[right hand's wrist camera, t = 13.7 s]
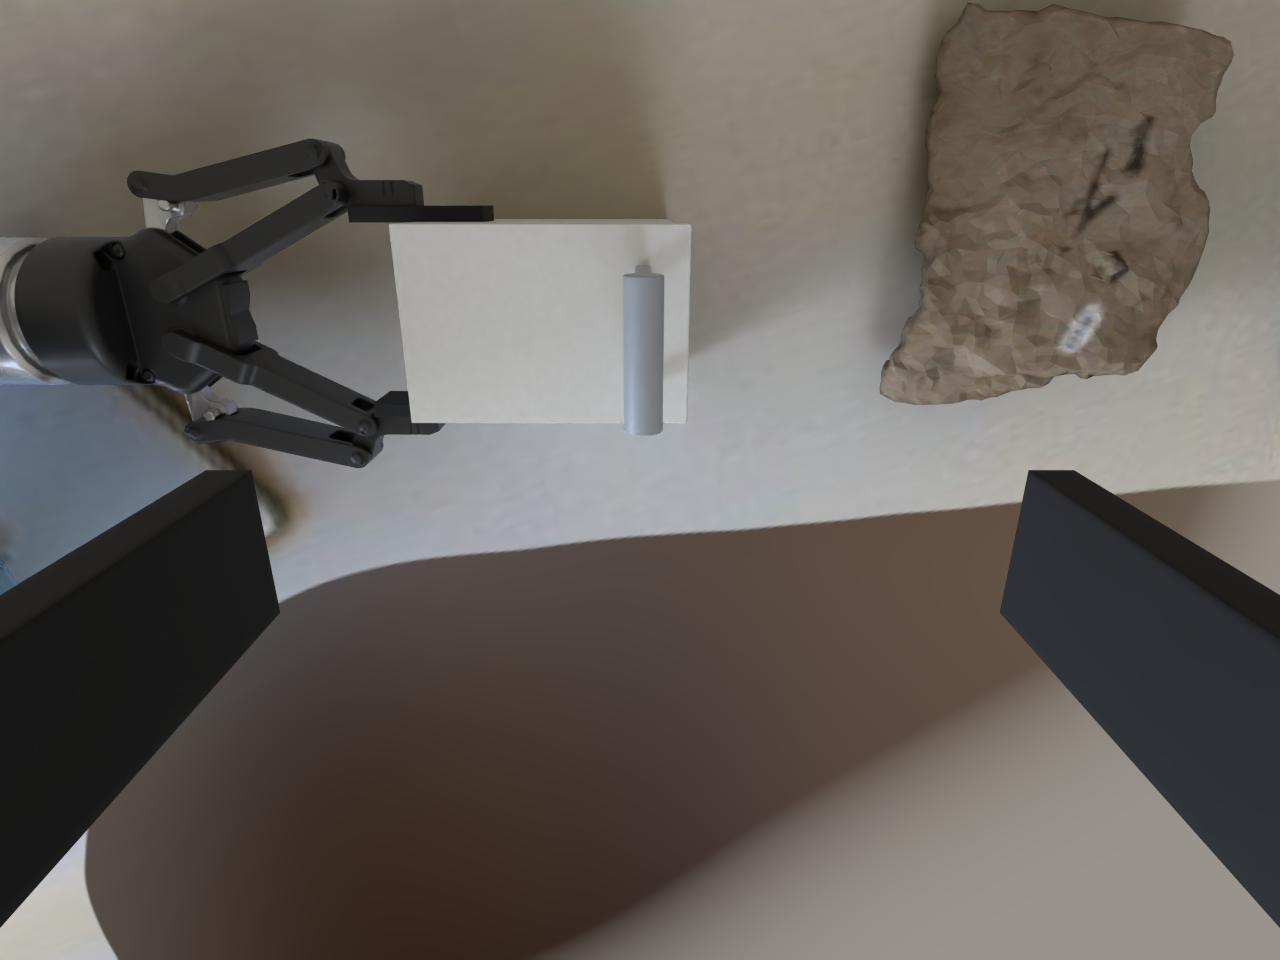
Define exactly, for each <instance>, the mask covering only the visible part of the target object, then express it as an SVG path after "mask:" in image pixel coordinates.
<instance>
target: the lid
mask: <svg viewBox="0 0 1280 960" xmlns="http://www.w3.org/2000/svg"><path fill="white" fill-rule="evenodd" d="M389 232H390V241H391V249H392V258H393V267H394V275H395V284H396V292H397V301H398V309H399V318H400V327H401V335H402V344H403V352H404V361H405V369H406V378H407V387H408V395H409V404H410V412H411V421H412V423H624V431H625V432H626V433H628V434H632V435H637V436H649V435H655V434H658V433H660V432H662V430H663V423H687V400H688V359H689V318H690V277H691V236H692V224H690V223H393V224H389Z"/></svg>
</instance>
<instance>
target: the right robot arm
mask: <svg viewBox="0 0 1280 960" xmlns="http://www.w3.org/2000/svg"><path fill="white" fill-rule="evenodd" d="M279 613H280V610H279V605H278V600H277V595H276V590H275V585H274V580H273V575H272V570H271V565H270V560H269V555H268V550H267V545H266V540H265V536H264V531H263V526H262V521H261V516H260V511H259V506H258V501H257V496H256V491H255V486H254V481H253V476H252V471H251V470H206V471H204V472H202V473H201V474H199V475H198V476H196V477H194V478H193V479H191V480H189V481H188V482H186V483H184V484H183V485H181V486H179V487H178V488H176V489H174V490H173V491H171V492H169V493H168V494H166V495H165V496H163V497H161V498H160V499H158V500H156V501H155V502H153V503H151V504H150V505H148V506H146V507H145V508H143V509H141V510H140V511H138V512H136V513H135V514H133V515H132V516H130V517H128V518H127V519H125V520H123V521H122V522H120V523H118V524H117V525H115V526H113V527H112V528H110V529H108V530H107V531H105V532H103V533H102V534H100V535H99V536H97V537H95V538H94V539H92V540H90V541H89V542H87V543H85V544H84V545H82V546H80V547H79V548H77V549H75V550H74V551H72V552H70V553H69V554H67V555H66V556H64V557H62V558H61V559H59V560H57V561H56V562H54V563H52V564H51V565H49V566H47V567H46V568H44V569H42V570H41V571H39V572H37V573H36V574H34V575H33V576H31V577H29V578H28V579H26V580H24V581H23V582H21V583H19V584H18V585H16V586H14V587H13V588H11V589H9V590H8V591H6V592H5V593H3V594H1V595H0V927H1V926H2V925H3V924H4V923H5V922H6V921H7V919H8V918H9V917H10V916H11V915H12V914H13V913H14V912H15V910H16V909H17V908H18V907H19V906H20V905H21V904H22V903H23V901H24V900H25V899H26V898H27V897H28V896H29V895H30V894H31V892H32V891H33V890H34V889H35V888H36V887H37V886H38V885H39V883H40V882H41V881H42V880H43V879H44V878H45V877H46V876H47V874H48V873H49V872H50V871H51V870H52V869H53V868H54V867H55V865H56V864H57V863H58V862H59V861H60V860H61V859H62V858H63V856H64V855H65V854H66V853H67V852H68V851H69V850H70V849H71V847H72V846H73V845H74V844H75V843H76V842H77V841H78V840H79V838H80V837H81V836H82V835H83V834H84V833H85V832H86V831H87V829H88V828H89V827H90V826H91V825H92V824H93V823H94V822H95V820H96V819H97V818H98V817H99V816H100V815H101V814H102V812H103V811H104V810H105V809H106V808H107V807H108V806H109V805H110V803H111V802H112V801H113V800H114V799H115V798H116V797H117V796H118V794H119V793H120V792H121V791H122V790H123V789H124V788H125V787H126V785H127V784H128V783H129V782H130V781H131V780H132V779H133V778H134V776H135V775H136V774H137V773H138V772H139V771H140V770H141V769H142V767H143V766H144V765H145V764H146V763H147V762H148V761H149V760H150V758H151V757H152V756H153V755H154V754H155V753H156V752H157V751H158V749H159V748H160V747H161V746H162V745H163V744H164V743H165V742H166V740H167V739H168V738H169V737H170V736H171V735H172V734H173V733H174V731H175V730H176V729H177V728H178V727H179V726H180V725H181V724H182V722H183V721H184V720H185V719H186V718H187V717H188V716H189V715H190V713H191V712H192V711H193V710H194V709H195V708H196V707H197V706H198V704H199V703H200V702H201V701H202V700H203V699H204V698H205V697H206V695H207V694H208V693H209V692H210V691H211V690H212V689H213V688H214V686H215V685H216V684H217V683H218V682H219V681H220V680H221V679H222V677H223V676H224V675H225V674H226V673H227V672H228V671H229V669H230V668H231V667H232V666H233V665H234V664H235V663H236V662H237V660H238V659H239V658H240V657H241V656H242V655H243V654H244V653H245V651H246V650H247V649H248V648H249V647H250V646H251V645H252V644H253V642H254V641H255V640H256V639H257V638H258V637H259V636H260V635H261V633H262V632H263V631H264V630H265V629H266V628H267V627H268V626H269V624H270V623H271V622H272V621H273V620H274V619H275V618H276V617H277V615H278V614H279ZM1000 613H1001V614H1002V615H1003V617H1004V618H1005V619H1006V620H1007V621H1008V622H1009V623H1010V624H1011V626H1012V627H1013V628H1014V629H1015V630H1016V631H1017V632H1018V633H1019V635H1020V636H1021V637H1022V638H1023V639H1024V640H1025V641H1026V642H1027V644H1028V645H1029V646H1030V647H1031V648H1032V649H1033V650H1034V651H1035V653H1036V654H1037V655H1038V656H1039V657H1040V658H1041V659H1042V660H1043V662H1044V663H1045V664H1046V665H1047V666H1048V667H1049V668H1050V669H1051V671H1052V672H1053V673H1054V674H1055V675H1056V676H1057V677H1058V679H1059V680H1060V681H1061V682H1062V683H1063V684H1064V685H1065V686H1066V688H1067V689H1068V690H1069V691H1070V692H1071V693H1072V694H1073V695H1074V697H1075V698H1076V699H1077V700H1078V701H1079V702H1080V703H1081V704H1082V706H1083V707H1084V708H1085V709H1086V710H1087V711H1088V712H1089V713H1090V715H1091V716H1092V717H1093V718H1094V719H1095V720H1096V721H1097V722H1098V724H1099V725H1100V726H1101V727H1102V728H1103V729H1104V730H1105V731H1106V733H1107V734H1108V735H1109V736H1110V737H1111V738H1112V739H1113V740H1114V742H1115V743H1116V744H1117V745H1118V746H1119V747H1120V748H1121V749H1122V751H1123V752H1124V753H1125V754H1126V755H1127V756H1128V757H1129V758H1130V760H1131V761H1132V762H1133V763H1134V764H1135V765H1136V766H1137V767H1138V769H1139V770H1140V771H1141V772H1142V773H1143V774H1144V775H1145V776H1146V778H1147V779H1148V780H1149V781H1150V782H1151V783H1152V784H1153V785H1154V787H1155V788H1156V789H1157V790H1158V791H1159V792H1160V793H1161V794H1162V796H1163V797H1164V798H1165V799H1166V800H1167V801H1168V802H1169V803H1170V805H1171V806H1172V807H1173V808H1174V809H1175V810H1176V811H1177V812H1178V814H1179V815H1180V816H1181V817H1182V818H1183V819H1184V820H1185V822H1186V823H1187V824H1188V825H1189V826H1190V827H1191V828H1192V829H1193V830H1194V832H1195V833H1196V834H1197V835H1198V836H1199V837H1200V838H1201V839H1202V841H1203V842H1204V843H1205V844H1206V845H1207V846H1208V847H1209V849H1210V850H1211V851H1212V852H1213V853H1214V854H1215V855H1216V856H1217V858H1218V859H1219V860H1220V861H1221V862H1222V863H1223V864H1224V865H1225V866H1226V868H1227V869H1228V870H1229V871H1230V872H1231V873H1232V874H1233V876H1234V877H1235V878H1236V879H1237V880H1238V881H1239V882H1240V883H1241V885H1242V886H1243V887H1244V888H1245V889H1246V890H1247V891H1248V892H1249V894H1250V895H1251V896H1252V897H1253V898H1254V899H1255V900H1256V901H1257V903H1258V904H1259V905H1260V906H1261V907H1262V908H1263V909H1264V910H1265V912H1266V913H1267V914H1268V915H1269V916H1270V917H1271V918H1272V919H1273V921H1274V922H1275V923H1276V924H1277V925H1278V926H1279V927H1280V595H1279V594H1277V593H1275V592H1274V591H1272V590H1271V589H1269V588H1267V587H1266V586H1264V585H1262V584H1261V583H1259V582H1257V581H1256V580H1254V579H1252V578H1251V577H1249V576H1247V575H1246V574H1244V573H1242V572H1241V571H1239V570H1238V569H1236V568H1234V567H1233V566H1231V565H1229V564H1228V563H1226V562H1224V561H1223V560H1221V559H1219V558H1218V557H1216V556H1214V555H1213V554H1211V553H1210V552H1208V551H1206V550H1205V549H1203V548H1201V547H1200V546H1198V545H1196V544H1195V543H1193V542H1191V541H1190V540H1188V539H1186V538H1185V537H1183V536H1181V535H1180V534H1178V533H1177V532H1175V531H1173V530H1172V529H1170V528H1168V527H1167V526H1165V525H1163V524H1162V523H1160V522H1158V521H1157V520H1155V519H1153V518H1152V517H1150V516H1148V515H1147V514H1145V513H1144V512H1142V511H1140V510H1139V509H1137V508H1135V507H1134V506H1132V505H1130V504H1129V503H1127V502H1125V501H1124V500H1122V499H1120V498H1119V497H1117V496H1115V495H1114V494H1112V493H1111V492H1109V491H1107V490H1106V489H1104V488H1102V487H1101V486H1099V485H1097V484H1096V483H1094V482H1092V481H1091V480H1089V479H1087V478H1086V477H1084V476H1082V475H1081V474H1079V473H1078V472H1076V471H1074V470H1029V471H1028V476H1027V481H1026V486H1025V491H1024V496H1023V501H1022V506H1021V511H1020V516H1019V521H1018V526H1017V531H1016V535H1015V540H1014V545H1013V550H1012V555H1011V560H1010V565H1009V570H1008V575H1007V580H1006V585H1005V590H1004V595H1003V600H1002V605H1001V610H1000Z"/></svg>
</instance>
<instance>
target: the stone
mask: <svg viewBox="0 0 1280 960" xmlns="http://www.w3.org/2000/svg"><path fill="white" fill-rule="evenodd" d="M1233 55H1234V54H1233V50H1232V46H1231V42H1230V41H1228V40H1227V39H1225V38H1224V37H1219V36H1216V35H1213V34H1211V33H1208V32H1206V31H1204V30H1199V29H1195V28H1191V27H1187V26H1182V25H1177V24H1171V23H1166V22H1143V21H1138V20H1133V19H1128V18H1120V17H1113V18H1107V17H1103V16H1099V15H1095V14H1091V13H1088V12H1083V11H1078V10H1073V9H1068V8H1064V7H1061V6H1057V5H1054V4H1053V5H1051V6H1048V7H1046V8H1044V9H1042V10H1040V11H1022V10H1017V11H985V10H984V9H983V8H982V7H981V6H980V5H977V4H972V3H967V5H966V7H965V9H964V11H963V13H962V15H961V17H960V18H959V20H958V22H957V24H956V25H955V26H954V27H952V28H951V29H950V30H949V31H948V32H947V33H946V35H945V36H944V38H943V40H942V45H941V47H940V49H939V51H938V55H937V73H936V82H937V88H938V93H939V98H938V99H937V101H936V102H935V104H934V105H933V107H932V112H931V116H930V119H929V122H928V125H927V128H926V147H927V151H928V167H927V171H928V182H929V190H928V192H927V194H926V196H925V212H924V213H923V215H922V219H921V222H920V225H919V228H918V230H917V232H916V234H915V247H916V249H918V250H919V251H921V252H922V253H923V254H924V257H925V260H926V261H925V263H924V265H923V268H922V282H921V285H920V288H919V289H920V291H921V294H922V295H921V300H920V301H919V309H918V310H917V312H916V313H915V314H914V315H913V316H912V317H910V318H908V320H907V322H906V325H905V327H904V329H903V332H902V336H901V342H900V344H899V346H898V347H897V348H896V349H895V350H894V352H893V353H892V355H891V356H890V360H887V361H886V362H885V364H884V366H883V368H882V372H881V384H880V394H882V395H884V396H885V397H887V398H889V399H891V400H893V401H895V402H904V403H909V404H914V405H929V404H949V403H957V402H961V401H964V400H967V399H976V400H984V399H986V398H989V397H997V396H1000V395H1003V394H1005V393H1008V392H1010V391H1015V390H1022V389H1026V388H1039V387H1043V386H1045V385H1047V384H1048V383H1049V382H1050V381H1051V380H1052V378H1053V377H1054V376H1059V375H1064V374H1077V376H1078V377H1079V378H1083V379H1088V378H1090V377H1092V376H1100V375H1112V374H1117V375H1127V374H1130V373H1133V372H1135V371H1138V370H1139V369H1140V368H1141V366H1142V365H1143V364H1144V363H1145V362H1146V360H1147V359H1148V358H1149V357H1150V356H1151V355H1152V354H1153V352H1154V351H1155V350H1156V349H1157V343H1156V337H1157V332H1158V329H1159V327H1160V326H1161V324H1162V322H1163V321H1164V319H1165V318H1166V316H1167V315H1168V314H1169V313H1170V312H1171V311H1172V310H1173V309H1174V308H1175V307H1177V306H1178V303H1179V299H1180V297H1181V296H1182V294H1183V293H1184V291H1185V290H1186V288H1187V287H1188V286H1189V284H1190V282H1191V280H1192V278H1193V275H1194V273H1195V271H1196V269H1197V266H1198V263H1199V261H1200V258H1201V255H1202V252H1203V249H1204V246H1205V243H1206V239H1207V236H1208V233H1209V227H1208V223H1209V213H1210V207H1209V201H1208V199H1207V196H1206V194H1205V192H1204V191H1202V190H1201V189H1200V188H1199V187H1198V185H1197V183H1196V182H1195V180H1194V177H1193V173H1192V165H1193V159H1192V154H1191V150H1190V137H1191V135H1192V134H1193V132H1194V131H1195V130H1196V128H1197V127H1198V126H1199V125H1200V124H1201V123H1202V122H1204V121H1205V120H1207V119H1209V118H1210V117H1212V116H1213V114H1214V113H1215V111H1216V96H1217V90H1218V88H1219V85H1220V83H1221V81H1222V77H1223V74H1224V72H1225V71H1226V69H1227V68H1228V67H1229V65H1230V64H1231V62H1232V59H1233Z"/></svg>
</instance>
